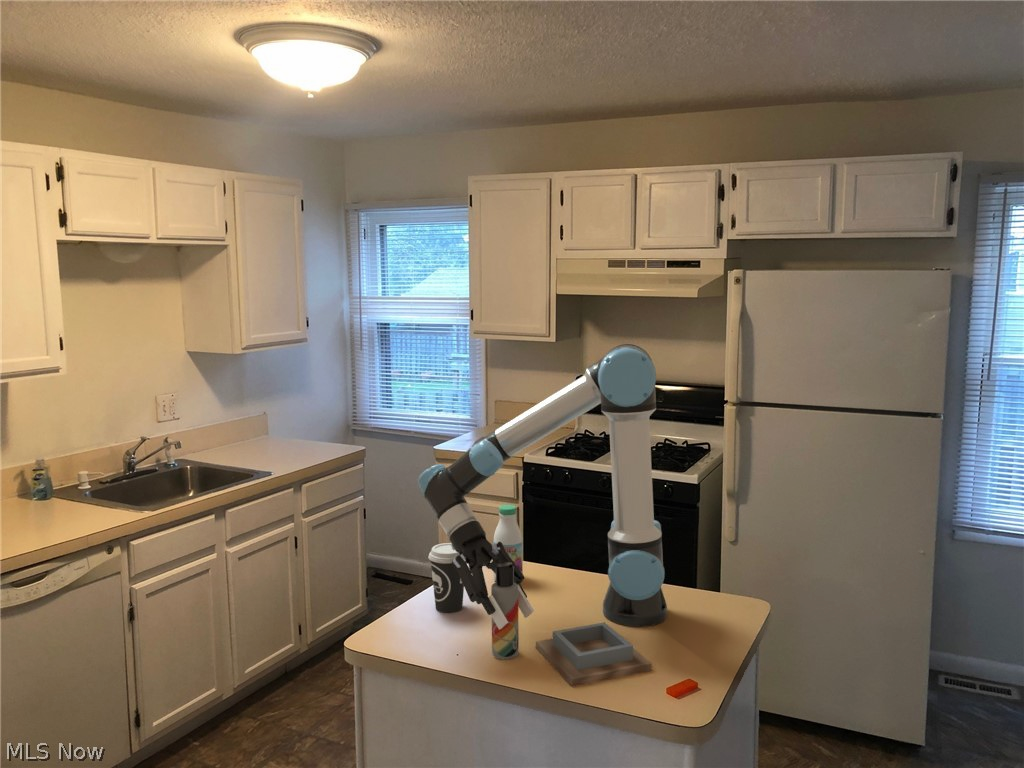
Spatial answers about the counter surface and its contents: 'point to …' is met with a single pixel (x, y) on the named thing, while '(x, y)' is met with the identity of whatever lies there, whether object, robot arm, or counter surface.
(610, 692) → the counter surface
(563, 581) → the counter surface
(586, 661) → the bottle collar
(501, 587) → the lotion bottle
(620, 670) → the stand board
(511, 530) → the milk bottle
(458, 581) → the coffee cup
